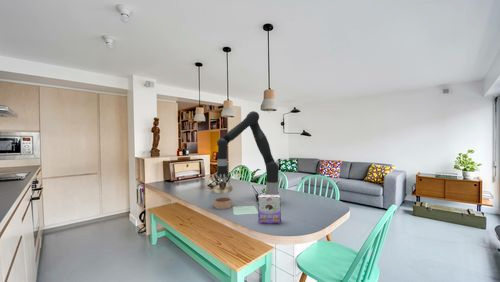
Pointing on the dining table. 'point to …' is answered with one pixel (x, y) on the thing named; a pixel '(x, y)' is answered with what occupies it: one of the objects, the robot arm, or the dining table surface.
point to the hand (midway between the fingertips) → (222, 187)
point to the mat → (245, 210)
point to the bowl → (222, 203)
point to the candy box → (269, 209)
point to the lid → (222, 188)
